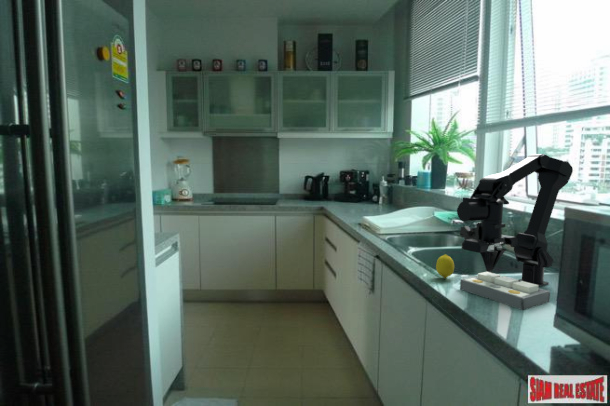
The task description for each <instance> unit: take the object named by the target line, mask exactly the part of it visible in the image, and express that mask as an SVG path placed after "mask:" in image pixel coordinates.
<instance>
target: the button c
mask: <svg viewBox="0 0 610 406" xmlns="http://www.w3.org/2000/svg"><path fill="white" fill-rule="evenodd" d="M538 286H539V285H536V284H532V283H528V282H524V281H520V282H516V283H513V289H515V290H518V291H521V292H525V293H528V294H530V293H534V292H537V291H538V288H539V287H540V286H539V287H538Z"/></svg>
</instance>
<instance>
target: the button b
mask: <svg viewBox="0 0 610 406" xmlns="http://www.w3.org/2000/svg"><path fill="white" fill-rule="evenodd" d="M516 282H519V279H517V278H513V277H509V276H504V275H503V276H500V277H498V278H494V284H497V285H501V286H504V287H508V288H511V287H513V283H516Z"/></svg>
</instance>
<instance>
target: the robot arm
mask: <svg viewBox="0 0 610 406" xmlns="http://www.w3.org/2000/svg"><path fill="white" fill-rule="evenodd" d="M573 171H574V170H573V166H572V165H571V164H570V162H569V161H566V160H561V159H557V158H554V157H551V156H550V155H547V154H544V153H533V154H530V155H528V156H527V157H526V158H524V159H523V160H521V161H519V162H518V163H515V164H514V165H512V166H511V167H509V168H507V169H506V170H503V171H502V172H498V173H494V174H493V173H492V174H490V175H486V176H484V177H482V178H480V179H479V181H478V185H477V186H476V188H475V189H474V191H473V192H472V194H471V196H470V197H462V201H461V202H460V203H459V204H458V206H457V208H456V215H457V217H458V219H459V220H460V221H462V222H474V221H475V222H477V221H479V222H477V223H476V226H475V227H472V228H471V227H469V225H467V226H466V225H465V226H461V227H460V230H459V233H460V234H459V236H460V237H461V238H463V240H462V241H461V250H464V251H469V252H474V253H477V254H478V253H479V254H480V256H481V258H482V260H483V264H484V267H485V270H486V272H490V273H493V270H494V269H495V267H496V265H497V264H498V262H499V260H500V259H501V257H502V256H503V255H504V254H505V252H507V249H506V248H504V247H503V246H502V245H508V246H510V247H511V248H513V253H514V256H515V260H516V262H520V263H522V270H521V278H520V279H518V280H519V282H520V281H524V282H528V283H532V284H536V285H539V286H538V288H540V287H543V286H546V285H549V282H548V281H544V280H545V279H544V278H545V268H546V269H547V268H549V267H550V268H551V267H552V265H553V263H554V258H552V256H551V254H550V253H549V252H548V245H549V244H548V241H547V238H546V232H547V228H548V226H549V223H550V219H551V216H552V213H553V210H554V207H555V204H556V200H557V197H558V195H559V192H560V190H561V189H563V187H565V186H566V185H568V183H569V181H570V179H571V176H572V174H573ZM533 173H536V174H538V175H537V180H538V182H539V183H538V184H539V186H540V188H539V190H538V193H537V197H536V199H535V203H534V206H533V209H532V213H531V216H530V219H529V221H528V225H527V228H526V230H524V232H522V233H521V232H518V233H517V234H516V236H512V235H505V234H503V228H506V223H503V217H504V215H503V213H504V205H510V202H509V201H508V199H506V198H505V196H506V195H508V193H510V192H511V191H512V189H513V187H514V185H515V184H516V183H518V182H520V181H521V180H523V179H525V178H527V177H528V176H530V175H532V174H533Z"/></svg>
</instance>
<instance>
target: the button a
mask: <svg viewBox="0 0 610 406" xmlns="http://www.w3.org/2000/svg"><path fill="white" fill-rule="evenodd" d="M476 276H477V279H480V280H483V281H487V282H490V283H492V282H494V278H498V277H501V274H497V273H494V272H487V271H484V272H478V273H477V275H476Z"/></svg>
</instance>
